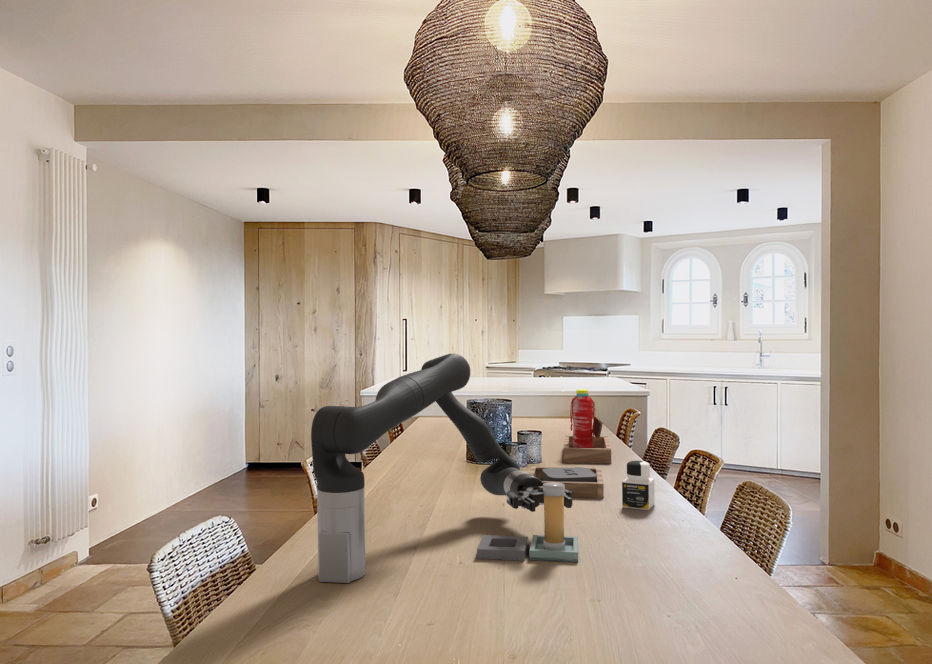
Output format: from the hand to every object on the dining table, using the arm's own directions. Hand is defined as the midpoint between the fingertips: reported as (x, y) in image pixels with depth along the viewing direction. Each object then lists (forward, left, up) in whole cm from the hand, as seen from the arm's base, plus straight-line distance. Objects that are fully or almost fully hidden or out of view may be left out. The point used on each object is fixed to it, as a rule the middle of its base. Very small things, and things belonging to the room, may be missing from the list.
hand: (552, 505), depth 149 cm
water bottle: (+115, -8, -10) cm, 116 cm away
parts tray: (-1, 0, -10) cm, 10 cm away
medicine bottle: (+41, -21, -10) cm, 47 cm away
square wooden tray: (+60, -1, -10) cm, 61 cm away
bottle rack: (+115, -8, -10) cm, 116 cm away
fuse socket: (-2, +11, -10) cm, 15 cm away
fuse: (-1, 0, -9) cm, 9 cm away
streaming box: (+59, -3, -10) cm, 60 cm away
